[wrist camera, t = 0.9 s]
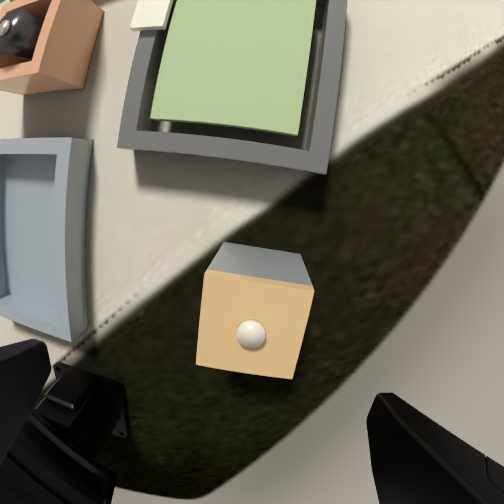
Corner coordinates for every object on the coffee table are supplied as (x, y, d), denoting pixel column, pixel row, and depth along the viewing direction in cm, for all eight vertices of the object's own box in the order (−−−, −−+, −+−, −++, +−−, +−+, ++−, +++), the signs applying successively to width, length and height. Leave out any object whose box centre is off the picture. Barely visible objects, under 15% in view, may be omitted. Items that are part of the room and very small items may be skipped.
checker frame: (319, 174, 17) (328, 174, 15) (125, 149, 18) (104, 147, 15) (341, -3, 14) (350, -24, 12) (163, -17, 15) (151, -37, 12)
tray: (88, 326, 21) (71, 342, 18) (6, 299, 21) (-12, 310, 18) (93, 140, 17) (71, 137, 15) (4, 141, 17) (-18, 140, 15)
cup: (83, 88, 17) (38, 72, 12) (23, 95, 17) (-23, 86, 12) (104, 11, 15) (68, -19, 10) (42, 24, 15) (3, 5, 10)
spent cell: (65, 66, 16) (10, 44, 10) (37, 71, 16) (-19, 54, 10) (75, 30, 15) (25, 0, 9) (46, 36, 15) (-5, 13, 9)
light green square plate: (296, 136, 16) (297, 134, 15) (155, 120, 16) (150, 118, 15) (315, 1, 13) (316, -6, 13) (184, -10, 14) (181, -16, 13)
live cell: (286, 322, 20) (292, 384, 14) (215, 311, 20) (194, 369, 14) (300, 254, 19) (315, 294, 12) (223, 242, 19) (202, 276, 12)
